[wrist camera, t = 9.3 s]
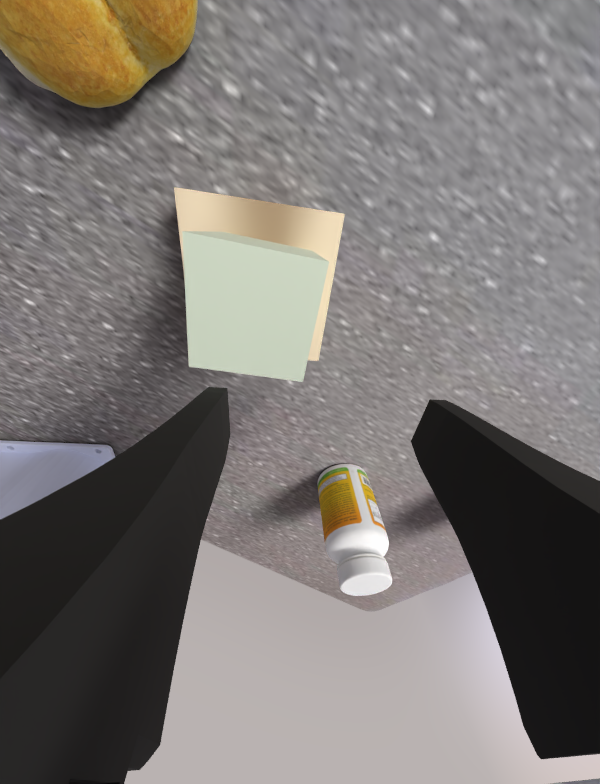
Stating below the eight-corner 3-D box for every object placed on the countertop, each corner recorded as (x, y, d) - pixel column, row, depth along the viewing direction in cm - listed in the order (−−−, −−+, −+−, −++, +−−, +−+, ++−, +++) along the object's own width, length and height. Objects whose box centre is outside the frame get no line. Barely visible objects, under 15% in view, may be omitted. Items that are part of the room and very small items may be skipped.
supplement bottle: (310, 491, 28) (321, 598, 20) (326, 458, 25) (345, 566, 17) (355, 497, 29) (382, 601, 21) (375, 466, 26) (415, 572, 18)
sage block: (220, 320, 15) (188, 366, 10) (222, 231, 13) (182, 231, 8) (296, 333, 16) (302, 381, 10) (311, 250, 13) (329, 261, 8)
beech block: (205, 332, 18) (192, 349, 16) (193, 194, 14) (174, 187, 12) (313, 343, 19) (318, 361, 17) (334, 216, 15) (344, 214, 12)
